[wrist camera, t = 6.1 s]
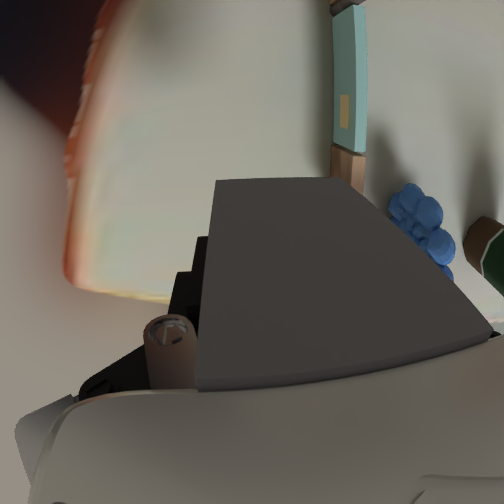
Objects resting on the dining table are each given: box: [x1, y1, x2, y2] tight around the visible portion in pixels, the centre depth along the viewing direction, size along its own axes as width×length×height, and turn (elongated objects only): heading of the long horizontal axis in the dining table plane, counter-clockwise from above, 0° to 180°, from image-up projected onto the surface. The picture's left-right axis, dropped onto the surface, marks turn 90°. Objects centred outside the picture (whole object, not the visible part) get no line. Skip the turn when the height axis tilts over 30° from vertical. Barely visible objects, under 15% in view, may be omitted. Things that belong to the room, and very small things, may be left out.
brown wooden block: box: [329, 0, 366, 196], centre depth 21 cm, size 25×1×6 cm, turn 1°
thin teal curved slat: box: [332, 5, 368, 152], centre depth 22 cm, size 13×1×5 cm, turn 1°
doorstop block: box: [195, 177, 494, 391], centre depth 9 cm, size 6×5×9 cm
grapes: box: [388, 183, 455, 282], centre depth 27 cm, size 12×7×12 cm, turn 7°
